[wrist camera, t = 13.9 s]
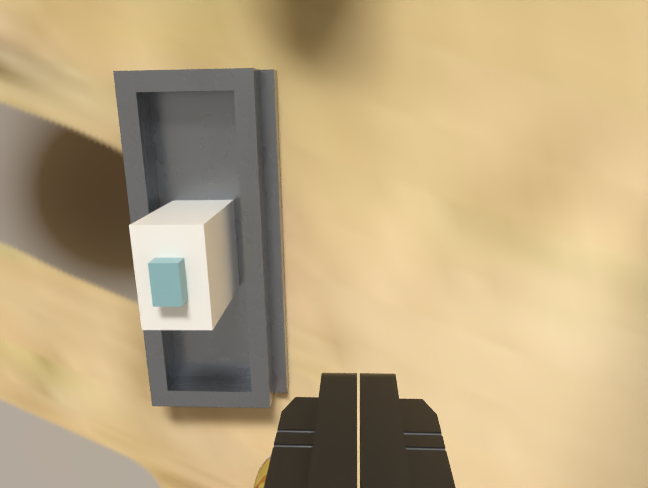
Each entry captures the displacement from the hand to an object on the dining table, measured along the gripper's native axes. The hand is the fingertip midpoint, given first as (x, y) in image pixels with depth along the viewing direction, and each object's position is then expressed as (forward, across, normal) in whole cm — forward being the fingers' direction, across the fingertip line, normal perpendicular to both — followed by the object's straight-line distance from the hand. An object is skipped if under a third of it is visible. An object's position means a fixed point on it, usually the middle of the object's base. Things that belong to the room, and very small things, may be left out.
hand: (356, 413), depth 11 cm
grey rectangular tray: (+25, +10, +3) cm, 27 cm away
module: (+24, +10, +3) cm, 26 cm away
